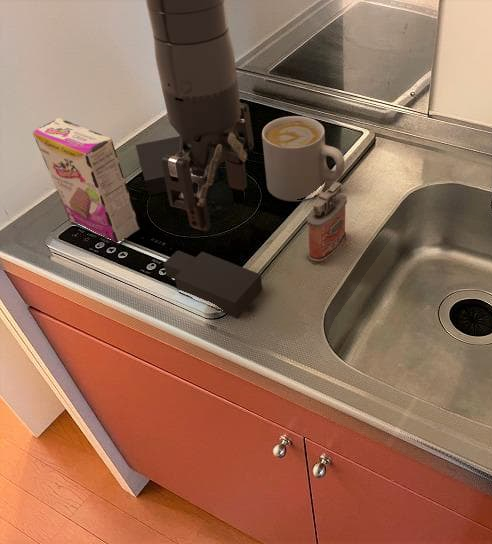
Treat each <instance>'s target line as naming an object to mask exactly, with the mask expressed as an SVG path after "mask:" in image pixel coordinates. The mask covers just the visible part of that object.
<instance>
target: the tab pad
mask: <svg viewBox="0 0 492 544" xmlns="http://www.w3.org/2000/svg"><path fill="white" fill-rule="evenodd" d="M163 268H164V271H165V274H166V277H167V276H168V277H170V278H174V279H175V281H174V280H172V279H169V278H167V280H169V281H172V282H174V283H175V284H176V285H175V286H176V289H177V290H178V289H179V290H182V291H184V292H187V293H190V294H192V295H195V296H197V297H199V298H202V299H204V300H206V301H209V302H211V303H213V304H215V305H217V306H218V307H219V308H221V309H222V310H223V311H222V310H220V309H217V308H215V307H213V306H210V305H207V306H208V307H211V308H213V309H215V310H217V311H219V312H222V313H224V314H227V315H229V316H231V317H233V318H236V319H239V318H240V317H241V315H242V314H243V313H244V312H245V311H246V310H247V309H248V307H249V306H250V305H251V304H253V302H254V301H255V299H256V298H257V297H259V295H260V294H261V293H262V292H263V281H262V274H261V273H258V272H255V271H253V270H250V269H247V268H245V267H242V266H240V265H237V264H235V263H233V262H231V261H228V260H225V259H223V258H220V257H217V256H215V255H212V254H209V253H207V252H205V251H200V253H199V254H197V255H196V256H194V255H191V254H189V253H186V252H184V251H181V250H176V251H175V252H174V253H173V254H172V255H171V256H170V257H168V258H167V259H166V260H165V261H164V262H163ZM178 294H181V295H183V296H185V297H188V298H190V299H192V300H195V299H193V298H192V297H190V296H188V295H185V294H183V293H181V292H178ZM195 301H197V300H195ZM197 302H198V301H197Z"/></svg>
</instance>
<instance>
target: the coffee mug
mask: <svg viewBox="0 0 492 544" xmlns="http://www.w3.org/2000/svg"><path fill="white" fill-rule="evenodd" d="M261 139H262V150H263V158H264V171H265V180H266V188H267V191H268V192H269V194H271V195H272V196H273V197H275V198H277V199H278V200H281V201H286V202H304V201H308V200H307V199H303V200H297V199H301V198H304V197H306V196H308V195H310V194H311V193H313V192H314V191H316V190H317V189H318V188H319V187H320V186H322V185H323V184H324V183H328V182H334V181H337V180H339V179H340V178H341V177H342V175H343V173H344V171H345V165H346V163H345V157H344V155H343V153H342V152H341V150H340V149H338V148H336V147H335V146H330V145H327V144H326V130H325V127H324V126H323V124H322V123H320V121H318V120H316V119H313V118H312V117H308V116H302V115H301V116H300V115H292V116H291V115H289V116H283V117H279V118H277V119H273V120H272V121H270V122H268V123H267V124H266V125H265V126H264V127H263V129H262V131H261ZM327 157H331V158H332V159H333V160H334V163H335V170H331V169H330V167H328V164H327Z"/></svg>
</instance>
